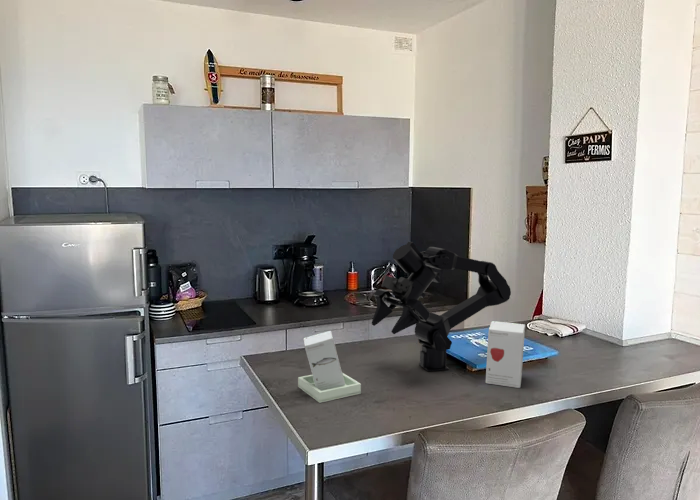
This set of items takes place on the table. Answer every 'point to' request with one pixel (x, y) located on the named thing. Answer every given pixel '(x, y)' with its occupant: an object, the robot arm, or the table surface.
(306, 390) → the dock tray
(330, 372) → the supplement box
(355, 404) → the table surface
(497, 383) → the supplement box
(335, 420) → the table surface
